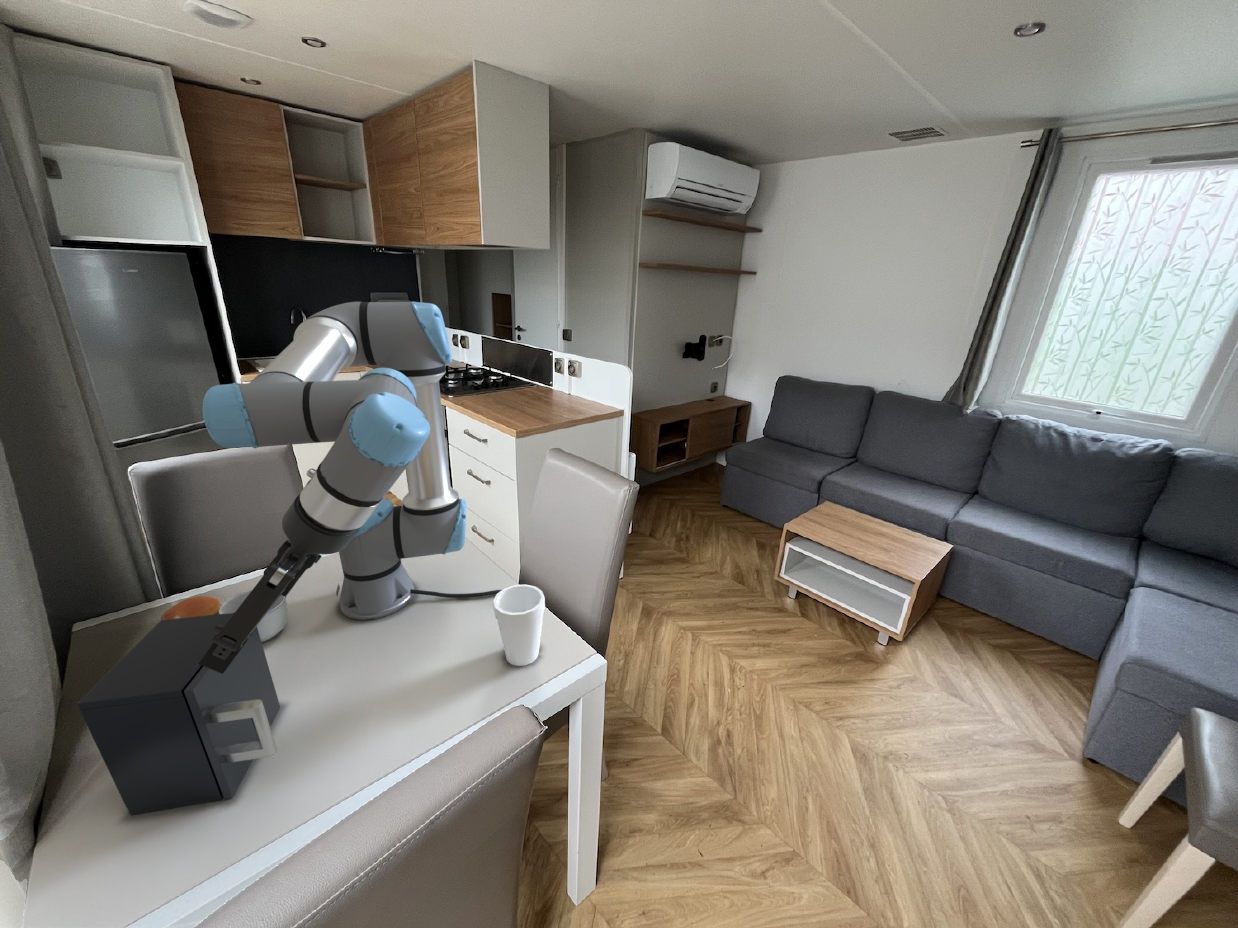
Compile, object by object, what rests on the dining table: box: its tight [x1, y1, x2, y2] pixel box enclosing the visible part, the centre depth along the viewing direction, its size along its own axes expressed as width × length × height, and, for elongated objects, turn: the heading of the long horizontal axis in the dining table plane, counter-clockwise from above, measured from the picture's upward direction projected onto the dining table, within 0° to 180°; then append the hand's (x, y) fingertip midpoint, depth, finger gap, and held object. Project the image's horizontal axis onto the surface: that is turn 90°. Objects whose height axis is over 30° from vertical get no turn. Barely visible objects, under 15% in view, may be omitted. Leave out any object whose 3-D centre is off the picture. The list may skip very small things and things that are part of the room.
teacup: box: [219, 589, 289, 643], centre depth 98 cm, size 14×11×8 cm
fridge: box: [76, 613, 234, 817], centre depth 72 cm, size 11×16×20 cm
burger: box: [160, 595, 223, 621], centre depth 103 cm, size 10×9×5 cm
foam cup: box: [492, 583, 546, 667], centre depth 95 cm, size 10×9×13 cm
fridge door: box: [184, 626, 281, 800], centre depth 73 cm, size 7×16×20 cm, turn 12°
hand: (248, 624), depth 63 cm, fingers open, 13 cm apart
